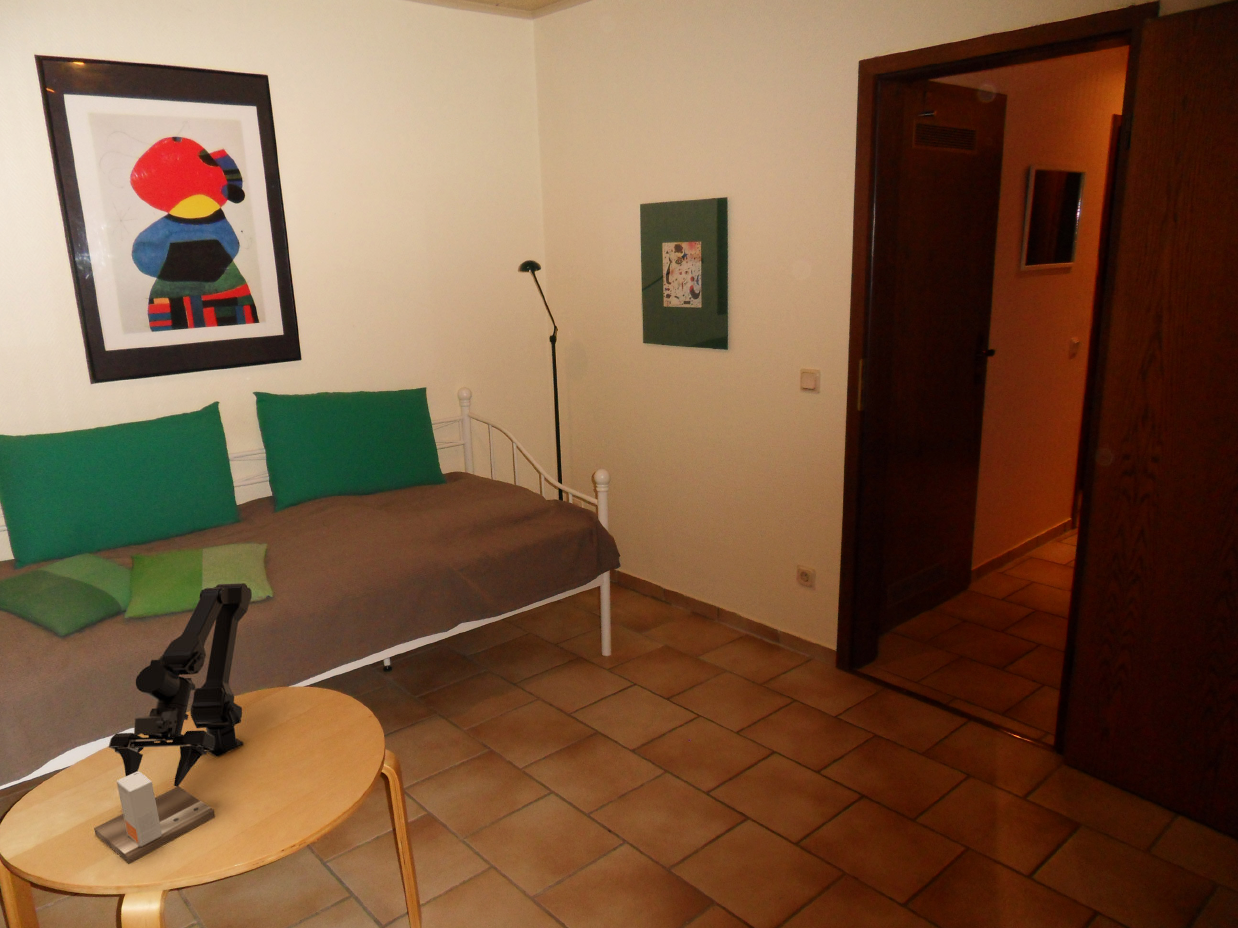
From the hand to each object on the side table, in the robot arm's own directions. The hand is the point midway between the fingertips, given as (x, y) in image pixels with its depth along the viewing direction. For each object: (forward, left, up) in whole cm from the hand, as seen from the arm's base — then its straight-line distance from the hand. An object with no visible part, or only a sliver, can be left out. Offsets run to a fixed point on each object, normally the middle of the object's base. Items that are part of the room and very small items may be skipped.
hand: (152, 786), depth 167 cm
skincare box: (+3, -4, -7) cm, 9 cm away
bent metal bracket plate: (-1, 0, -9) cm, 9 cm away
